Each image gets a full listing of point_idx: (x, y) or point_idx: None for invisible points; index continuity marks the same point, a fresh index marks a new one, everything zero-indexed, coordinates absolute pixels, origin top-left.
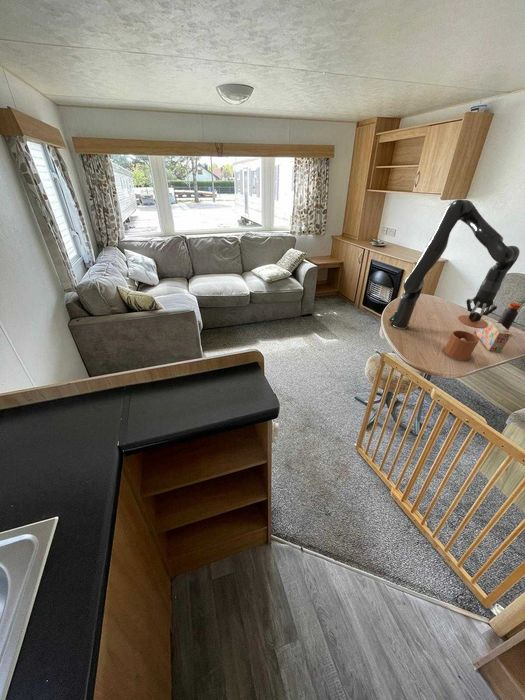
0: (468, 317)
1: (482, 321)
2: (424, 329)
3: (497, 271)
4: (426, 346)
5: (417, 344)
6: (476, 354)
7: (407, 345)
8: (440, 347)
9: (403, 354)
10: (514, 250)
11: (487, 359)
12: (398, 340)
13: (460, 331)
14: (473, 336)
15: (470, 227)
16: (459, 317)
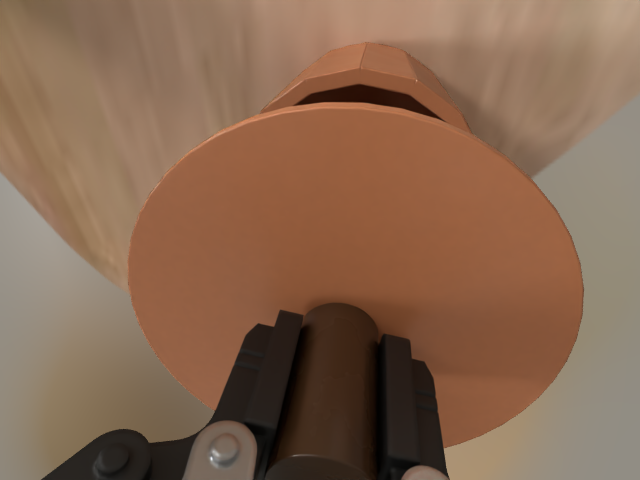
0: (272, 230)
1: (506, 287)
2: None
3: None
4: (174, 123)
5: (119, 127)
6: (526, 45)
7: (79, 173)
8: (259, 83)
9: (105, 273)
10: None
11: (594, 87)
12: (11, 137)
13: (315, 92)
14: None
15: None
16: (144, 293)
